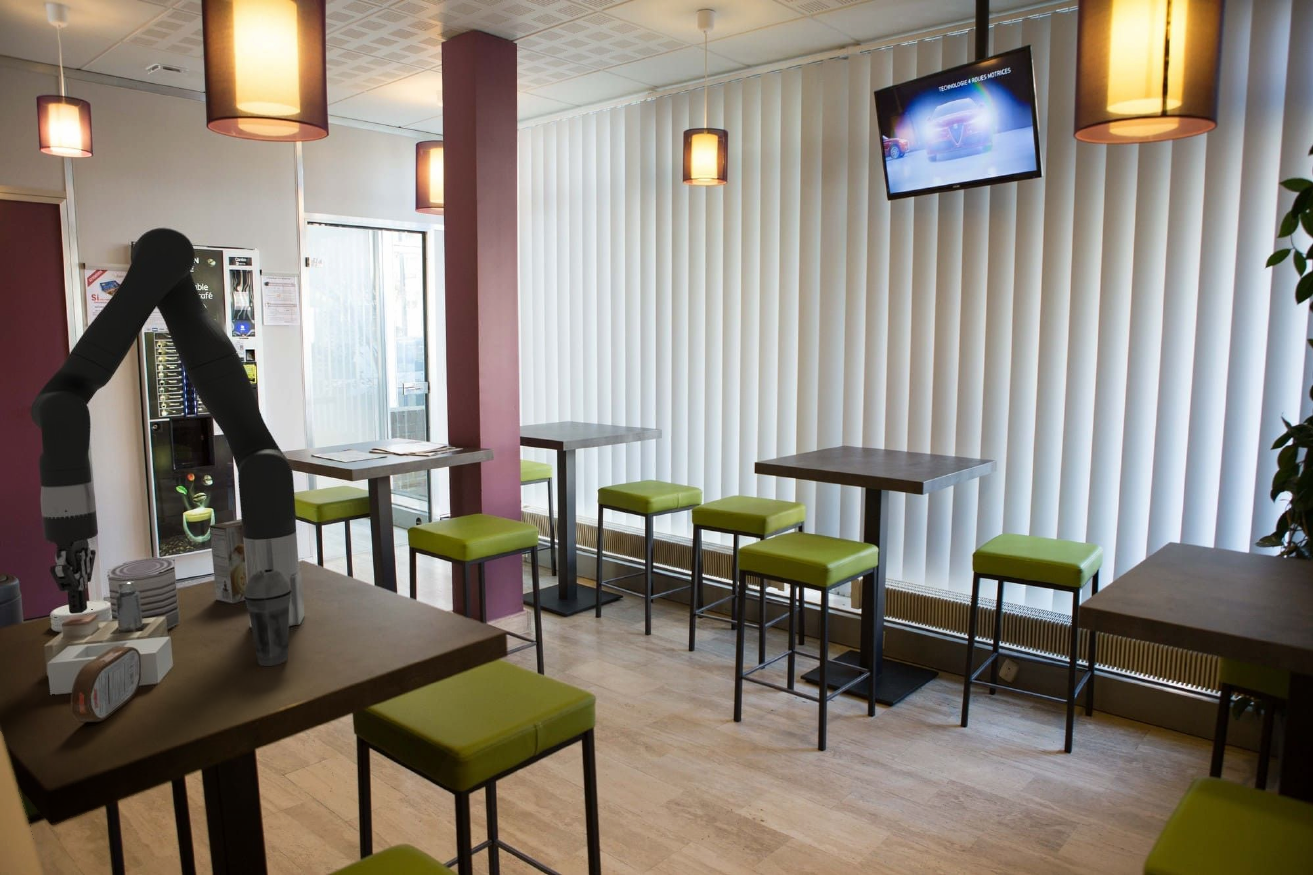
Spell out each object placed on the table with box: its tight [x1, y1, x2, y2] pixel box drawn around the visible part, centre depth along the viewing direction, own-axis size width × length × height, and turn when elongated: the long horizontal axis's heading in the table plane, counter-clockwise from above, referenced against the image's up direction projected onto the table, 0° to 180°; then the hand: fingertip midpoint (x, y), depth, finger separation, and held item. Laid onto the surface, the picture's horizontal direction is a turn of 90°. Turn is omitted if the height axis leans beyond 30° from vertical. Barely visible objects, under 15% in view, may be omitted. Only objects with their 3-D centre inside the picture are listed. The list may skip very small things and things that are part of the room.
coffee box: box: [209, 518, 247, 604], centre depth 186 cm, size 9×6×16 cm
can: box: [106, 556, 180, 630], centre depth 167 cm, size 11×11×12 cm
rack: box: [47, 636, 174, 696], centre depth 140 cm, size 15×8×5 cm, turn 104°
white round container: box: [49, 600, 112, 633], centre depth 170 cm, size 10×10×4 cm
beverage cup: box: [244, 545, 292, 667], centre depth 146 cm, size 7×7×20 cm
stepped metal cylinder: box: [115, 581, 143, 634], centre depth 150 cm, size 4×4×13 cm
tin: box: [70, 646, 141, 724], centre depth 128 cm, size 15×3×8 cm, turn 5°
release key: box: [62, 614, 99, 638], centre depth 149 cm, size 4×4×4 cm
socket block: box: [43, 617, 169, 677], centre depth 150 cm, size 15×11×5 cm
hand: (78, 611), depth 148 cm, fingers closed
